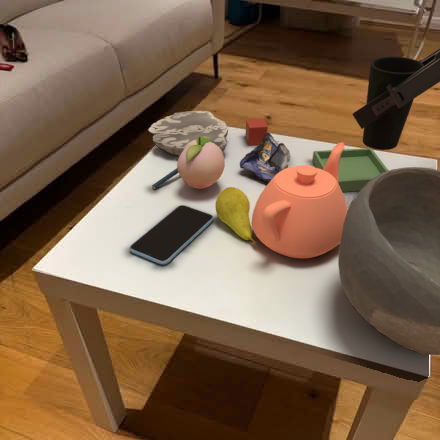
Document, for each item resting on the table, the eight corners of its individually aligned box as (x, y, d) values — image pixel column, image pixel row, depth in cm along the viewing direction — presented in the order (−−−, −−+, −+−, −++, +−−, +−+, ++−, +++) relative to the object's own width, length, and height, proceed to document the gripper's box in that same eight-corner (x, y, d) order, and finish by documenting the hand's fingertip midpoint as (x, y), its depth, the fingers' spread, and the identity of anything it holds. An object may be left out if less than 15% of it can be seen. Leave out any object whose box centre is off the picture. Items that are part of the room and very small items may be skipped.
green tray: (368, 158, 97) (371, 147, 95) (391, 189, 88) (394, 178, 86) (311, 161, 96) (313, 150, 94) (329, 192, 87) (331, 181, 85)
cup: (403, 155, 73) (425, 75, 64) (353, 149, 74) (368, 71, 66) (404, 135, 78) (425, 58, 70) (358, 130, 80) (372, 54, 72)
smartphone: (215, 215, 80) (164, 263, 70) (215, 219, 80) (164, 267, 71) (180, 202, 82) (126, 247, 73) (180, 206, 83) (127, 251, 74)
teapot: (295, 191, 87) (304, 127, 78) (370, 220, 80) (388, 154, 72) (223, 248, 74) (224, 180, 66) (304, 288, 68) (317, 218, 59)
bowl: (442, 425, 53) (536, 356, 42) (277, 297, 61) (319, 209, 49) (502, 314, 68) (584, 241, 56) (363, 221, 75) (411, 140, 64)
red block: (262, 136, 104) (264, 118, 101) (266, 144, 101) (267, 126, 98) (245, 137, 103) (246, 119, 101) (248, 145, 100) (249, 127, 98)
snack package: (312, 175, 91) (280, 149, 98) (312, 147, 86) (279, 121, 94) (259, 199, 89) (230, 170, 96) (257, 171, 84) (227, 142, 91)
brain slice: (144, 128, 106) (142, 115, 104) (216, 121, 109) (216, 108, 107) (158, 170, 92) (156, 156, 90) (239, 160, 96) (240, 146, 94)
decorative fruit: (218, 203, 84) (218, 152, 77) (174, 198, 85) (171, 147, 78) (228, 177, 90) (229, 128, 83) (187, 173, 91) (185, 123, 84)
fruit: (211, 204, 82) (233, 263, 77) (209, 186, 76) (232, 248, 72) (242, 194, 82) (266, 252, 78) (242, 175, 76) (267, 237, 72)
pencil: (151, 184, 87) (208, 145, 92) (153, 189, 88) (209, 149, 93) (153, 185, 86) (211, 145, 92) (155, 190, 87) (212, 150, 92)
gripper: (526, 59, 52) (357, 157, 69) (544, 17, 64) (397, 109, 81) (495, -2, 50) (329, 114, 67) (519, -33, 63) (374, 71, 80)
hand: (366, 111), depth 74 cm, fingers closed on cup, 8 cm apart
